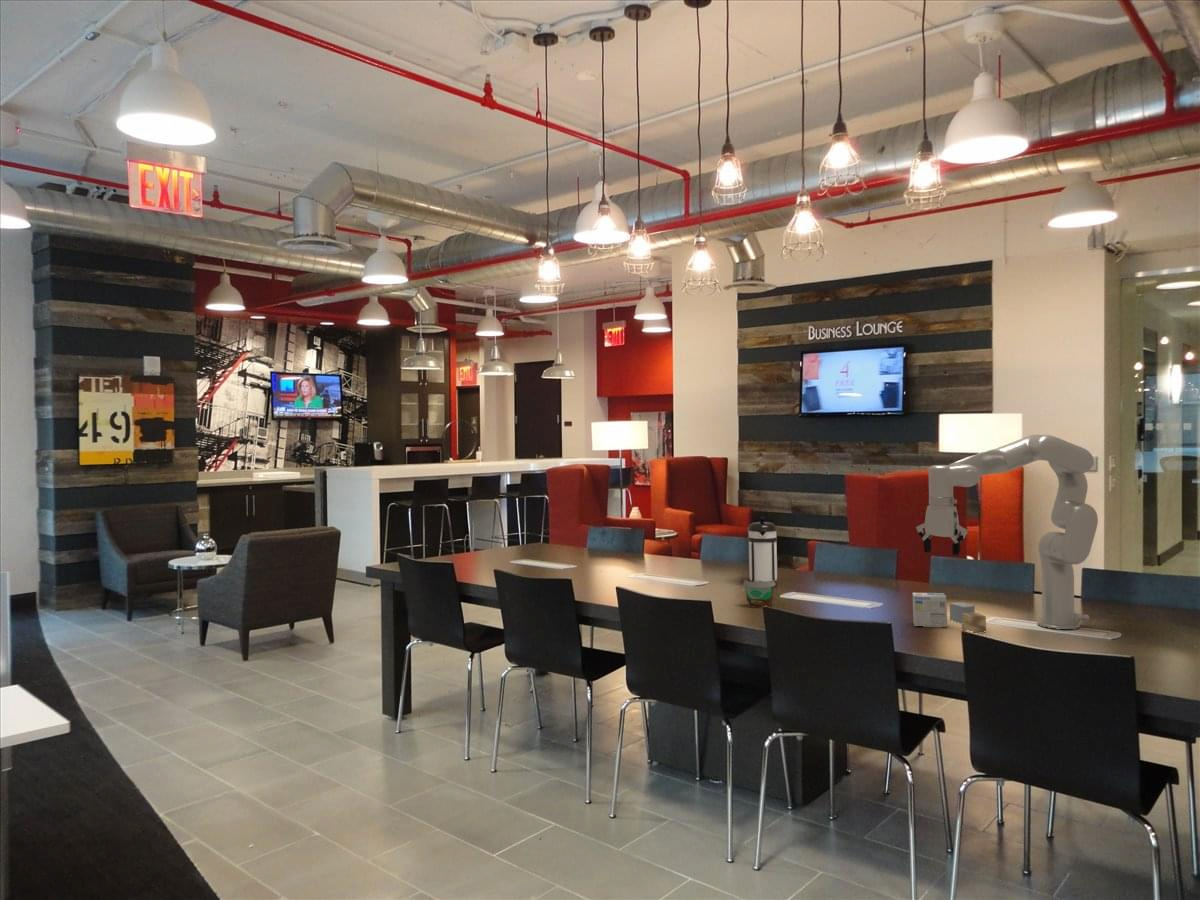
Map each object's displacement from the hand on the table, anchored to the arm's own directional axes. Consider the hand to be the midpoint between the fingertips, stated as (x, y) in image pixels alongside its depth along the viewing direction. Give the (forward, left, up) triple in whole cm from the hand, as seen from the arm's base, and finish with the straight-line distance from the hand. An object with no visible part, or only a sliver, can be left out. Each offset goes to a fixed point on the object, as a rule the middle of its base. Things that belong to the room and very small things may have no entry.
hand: (941, 553), depth 279 cm
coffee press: (+41, -91, -26) cm, 103 cm away
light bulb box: (+1, -7, -26) cm, 27 cm away
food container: (+52, -44, -26) cm, 73 cm away
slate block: (-12, -11, -26) cm, 30 cm away
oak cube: (-10, +2, -26) cm, 28 cm away
